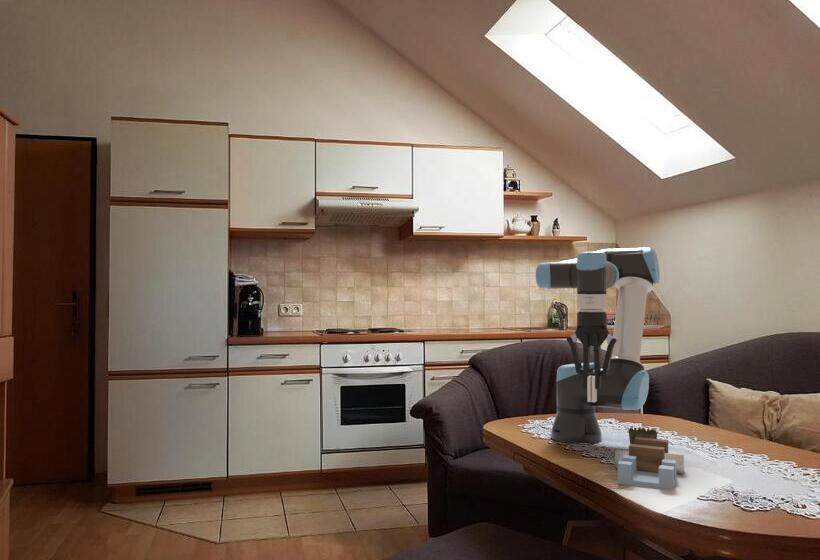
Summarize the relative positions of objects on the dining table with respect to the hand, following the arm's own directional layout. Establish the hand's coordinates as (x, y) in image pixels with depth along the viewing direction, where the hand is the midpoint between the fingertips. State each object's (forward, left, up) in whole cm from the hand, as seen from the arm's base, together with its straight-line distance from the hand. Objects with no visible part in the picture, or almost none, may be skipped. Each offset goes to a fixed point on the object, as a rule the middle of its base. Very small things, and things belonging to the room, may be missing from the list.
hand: (592, 401), depth 172 cm
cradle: (+11, +15, -16) cm, 25 cm away
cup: (-11, +11, -17) cm, 23 cm away
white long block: (0, +14, -14) cm, 20 cm away
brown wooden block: (0, +14, -16) cm, 22 cm away
